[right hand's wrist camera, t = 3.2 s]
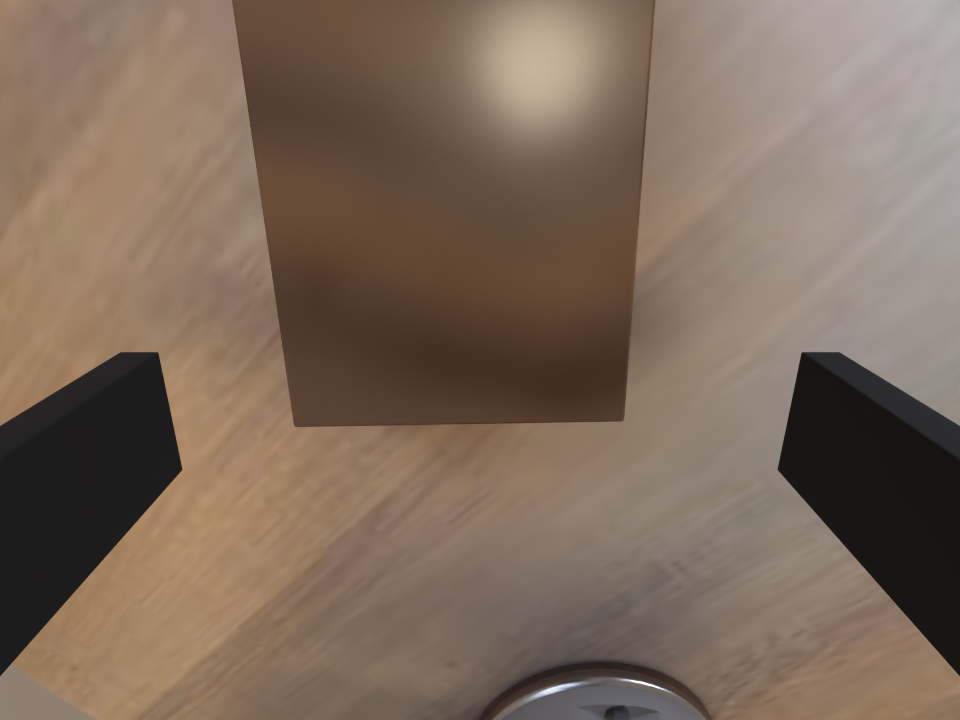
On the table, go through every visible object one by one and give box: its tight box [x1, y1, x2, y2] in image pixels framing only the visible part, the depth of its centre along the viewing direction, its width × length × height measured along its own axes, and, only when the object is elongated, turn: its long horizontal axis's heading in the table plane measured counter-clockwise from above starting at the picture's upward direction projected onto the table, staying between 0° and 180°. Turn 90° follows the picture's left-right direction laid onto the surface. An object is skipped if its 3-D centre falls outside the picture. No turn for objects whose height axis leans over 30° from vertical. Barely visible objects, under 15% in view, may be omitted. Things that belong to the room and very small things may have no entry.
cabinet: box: [232, 0, 655, 427], centre depth 20 cm, size 18×11×8 cm, turn 1°
